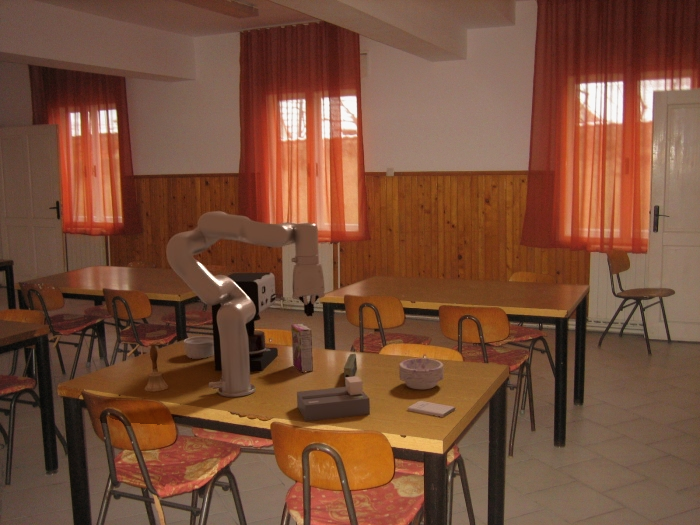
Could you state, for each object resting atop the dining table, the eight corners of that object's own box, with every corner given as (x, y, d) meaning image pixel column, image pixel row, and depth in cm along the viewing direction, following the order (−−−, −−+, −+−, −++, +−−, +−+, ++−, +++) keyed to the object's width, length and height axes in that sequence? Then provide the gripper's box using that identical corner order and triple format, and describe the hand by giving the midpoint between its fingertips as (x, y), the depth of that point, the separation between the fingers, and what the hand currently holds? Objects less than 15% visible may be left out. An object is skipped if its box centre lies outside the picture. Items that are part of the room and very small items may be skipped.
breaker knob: (350, 395, 213) (350, 382, 213) (345, 389, 219) (345, 377, 218) (362, 393, 214) (362, 381, 214) (357, 388, 220) (357, 376, 219)
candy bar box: (292, 366, 269) (290, 324, 267) (304, 364, 271) (302, 323, 269) (301, 373, 258) (299, 330, 256) (313, 371, 260) (312, 328, 258)
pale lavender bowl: (419, 395, 228) (419, 372, 227) (390, 385, 240) (390, 363, 239) (453, 386, 237) (452, 363, 236) (423, 377, 249) (422, 355, 248)
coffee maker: (260, 374, 258) (256, 282, 254) (210, 374, 261) (205, 282, 257) (279, 355, 285) (276, 271, 281) (234, 355, 288) (230, 272, 284)
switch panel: (305, 421, 206) (305, 405, 206) (297, 407, 220) (296, 391, 219) (369, 414, 211) (369, 397, 211) (357, 400, 225) (357, 385, 224)
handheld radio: (358, 370, 261) (351, 390, 236) (349, 370, 261) (341, 391, 236) (357, 353, 260) (350, 371, 235) (348, 353, 260) (340, 372, 236)
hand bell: (144, 393, 239) (141, 348, 238) (144, 386, 247) (141, 342, 246) (168, 390, 242) (166, 345, 240) (168, 383, 250) (165, 340, 248)
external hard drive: (443, 419, 207) (407, 412, 214) (455, 411, 213) (420, 404, 220) (443, 414, 206) (407, 407, 214) (455, 406, 213) (420, 399, 220)
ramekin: (212, 359, 282) (211, 343, 282) (180, 360, 283) (179, 343, 282) (219, 351, 296) (218, 335, 295) (189, 352, 296) (188, 336, 295)
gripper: (286, 263, 221) (288, 319, 223) (331, 260, 225) (333, 315, 227) (282, 260, 228) (285, 315, 231) (326, 258, 232) (328, 311, 234)
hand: (309, 315), depth 229 cm, fingers closed
